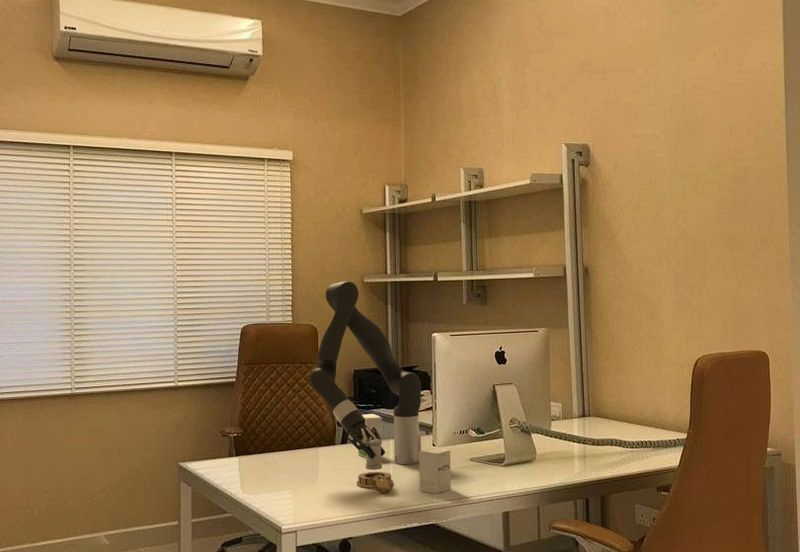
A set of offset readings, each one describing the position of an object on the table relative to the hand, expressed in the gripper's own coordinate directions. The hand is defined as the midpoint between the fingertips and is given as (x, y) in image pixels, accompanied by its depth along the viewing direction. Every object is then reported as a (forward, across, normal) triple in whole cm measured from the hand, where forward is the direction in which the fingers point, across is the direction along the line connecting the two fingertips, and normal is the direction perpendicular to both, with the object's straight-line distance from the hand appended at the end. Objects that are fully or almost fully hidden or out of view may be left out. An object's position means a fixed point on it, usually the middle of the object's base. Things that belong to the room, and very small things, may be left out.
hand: (378, 455), depth 276 cm
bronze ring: (+8, -3, +6) cm, 10 cm away
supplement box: (+21, +3, -8) cm, 22 cm away
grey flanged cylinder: (+2, 0, +4) cm, 5 cm away
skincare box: (-15, +38, +28) cm, 49 cm away
